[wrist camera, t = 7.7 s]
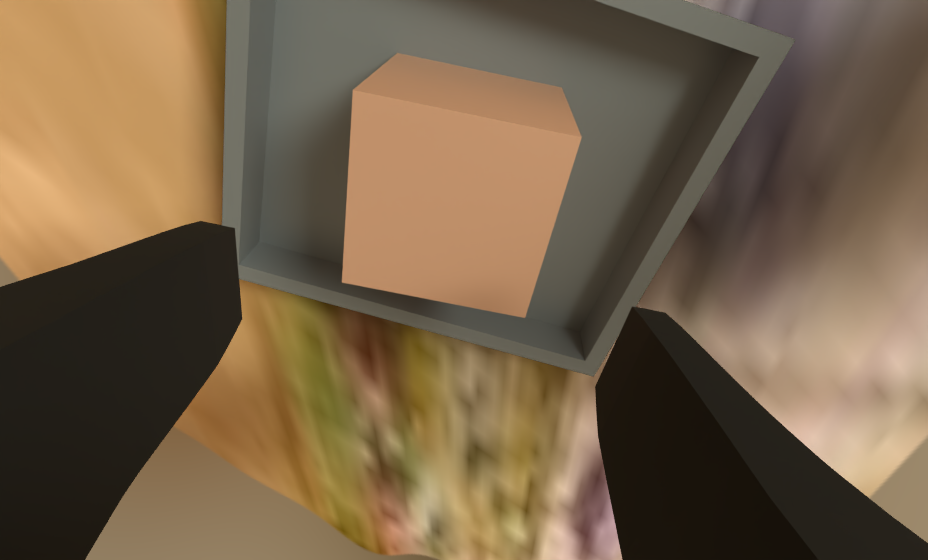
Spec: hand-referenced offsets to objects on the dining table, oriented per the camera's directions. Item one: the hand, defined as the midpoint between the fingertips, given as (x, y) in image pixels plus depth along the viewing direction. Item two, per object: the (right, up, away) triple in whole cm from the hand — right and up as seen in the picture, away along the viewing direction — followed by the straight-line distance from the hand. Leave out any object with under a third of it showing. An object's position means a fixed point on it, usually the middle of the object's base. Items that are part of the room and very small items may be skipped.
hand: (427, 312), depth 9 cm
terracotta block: (+1, +5, +7) cm, 9 cm away
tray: (+1, +5, +8) cm, 9 cm away
